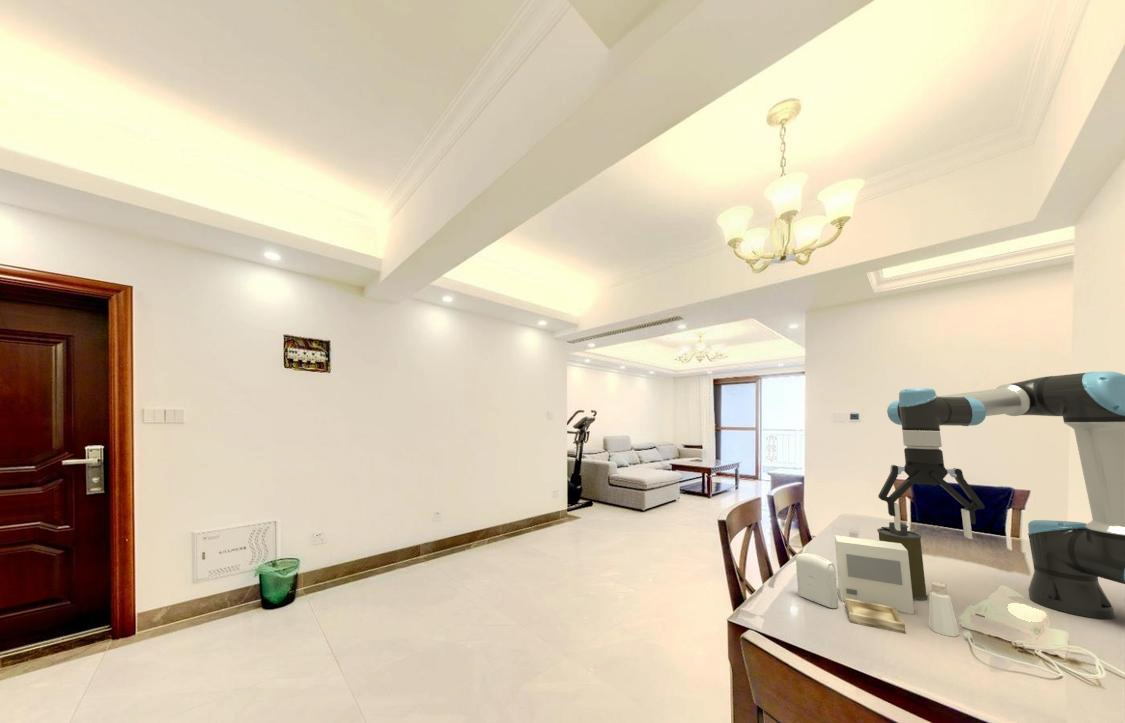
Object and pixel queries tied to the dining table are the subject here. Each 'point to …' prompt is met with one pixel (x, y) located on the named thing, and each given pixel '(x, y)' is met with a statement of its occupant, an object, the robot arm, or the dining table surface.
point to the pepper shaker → (941, 611)
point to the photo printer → (817, 579)
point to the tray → (874, 615)
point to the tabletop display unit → (874, 572)
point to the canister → (914, 554)
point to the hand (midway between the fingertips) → (931, 533)
